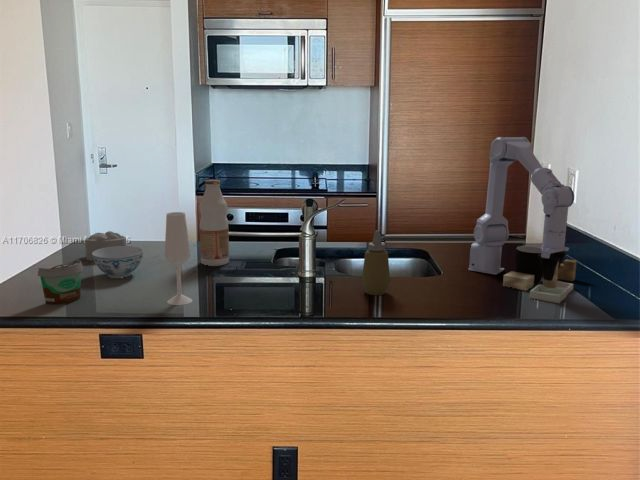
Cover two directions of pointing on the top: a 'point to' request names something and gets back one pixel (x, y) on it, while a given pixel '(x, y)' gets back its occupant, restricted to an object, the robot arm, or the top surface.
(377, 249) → the squeeze bottle
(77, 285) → the food container
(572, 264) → the bench stop
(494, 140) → the robot arm
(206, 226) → the fruit juice
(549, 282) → the dowel
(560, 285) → the collar
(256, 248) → the top surface
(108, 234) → the lumpy-topped squat cylinder
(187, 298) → the champagne flute
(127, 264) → the chinaware
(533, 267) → the mug
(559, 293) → the tray
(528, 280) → the push block
